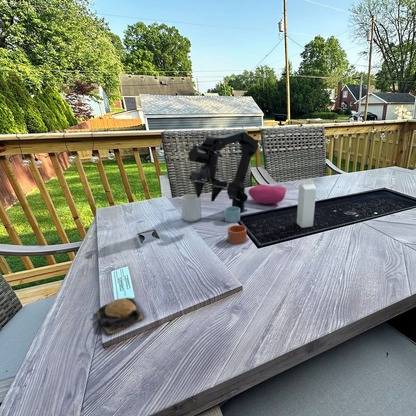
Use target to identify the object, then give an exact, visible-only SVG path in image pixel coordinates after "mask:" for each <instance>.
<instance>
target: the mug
mask: <svg viewBox="0 0 416 416" xmlns="http://www.w3.org/2000/svg"><path fill="white" fill-rule="evenodd" d="M180 207H181V218H182V219H183V220H184V221H185V222H188V223H189V222H197V221H200V219H201V218H202V217H203V216H202V215H203V214H202V200H201V196H200V197H197V194H193V193H191V194H189V193H188V194H184V195H181V196H180Z"/></svg>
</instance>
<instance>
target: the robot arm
mask: <svg viewBox="0 0 416 416" xmlns="http://www.w3.org/2000/svg"><path fill="white" fill-rule="evenodd" d="M237 142H238V144H239V145H240V151H241V156H240V160H239V163H238V166H237V169H236V173H235V176H234V179H233V181H229V182H228V181H227V180H224V179H218V177H216V175H217V172H219V168H218V162H219V158H223V154H222V153H221V151H222V150H223V149H225V148H226V146H228V145H230V144H233V143H237ZM258 148H259V143H258V141H257V139H255V138H254V137H253V136H251V135H249V134H248V133H247V132H246V131H245V130H244V131H243V130H237V131H235V132H234V131H233V132H231V133H227V134H224V135H217V136H216V135H211V136H210V135H208V136H207V137H205V140H204V141H203V142H202V143H201V145H196V144H194V145H193V146H192V148H191V149H190V150H189V152H188V160H190V162H193V163H198V164H203V165H201V166H200V169H195V170H192V171H190V175H189V178H188V180H189V181H190V182H191V183H192V184H193V186H194V188H195V189H194V190H195V193H196V194H195V195H197V197H200V198H201V195H202V192H203V188H204V187H205V183H209V184H211V185H210V188H211V198H210V201H211V202H215V200H216V198H217V197H218V195H219V194H220V193H221V192H222V191H223V190H224V189H225V188H226V194H227V196H228V199H229V200H231V207H232V206H234V207H239V208H240V214H241V213H243V212H245V211H247V208H246V207H245V202H246V201H248V198H249V196H248V195H247V193H246V192H245V189H246V188H245V187H246V186H245V184H244V182H245V180H246V176H247V173H248V169H249V166H250V164H251V163H250V162H251V160H252V157H253V156H255V154H256V153H257V151H258Z"/></svg>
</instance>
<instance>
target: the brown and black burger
mask: <svg viewBox="0 0 416 416" xmlns="http://www.w3.org/2000/svg"><path fill="white" fill-rule="evenodd" d="M96 316H97V320H98V322H99V324H100V325H101V327H102V329H104V331H105V332H106V333H107V334H108V335H109V336H110V335H113V334H116V333H117V332H119V331H122V330H125V329H126V328H127V327H131V326H133V325H134V324H136V323H138V322H140V321H141V320H143V318H144V317H143V315H142V314H141V312H140V310H139V308H138V307H137V303H136V301H135V299H133V298H130V297H125V298H117V299H114V300H112V301H110V302H108V303H106V304H104V305H102V306H100V307H99V308H98V309H96Z"/></svg>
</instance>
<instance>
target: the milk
mask: <svg viewBox="0 0 416 416" xmlns="http://www.w3.org/2000/svg"><path fill="white" fill-rule="evenodd" d="M316 194H317V187H316V185H315V181H314V180H313V179H312V180H311V179H309V180H307V179H306V180H302V181H301V184H300V185H299V186H298V194H297V195H298V196H297V208H296V209H297V211H296V224H297V225H298V226H299V227H300V228H301V229H303V228H310V227H314V218H315V209H316V208H315V207H316Z"/></svg>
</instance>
